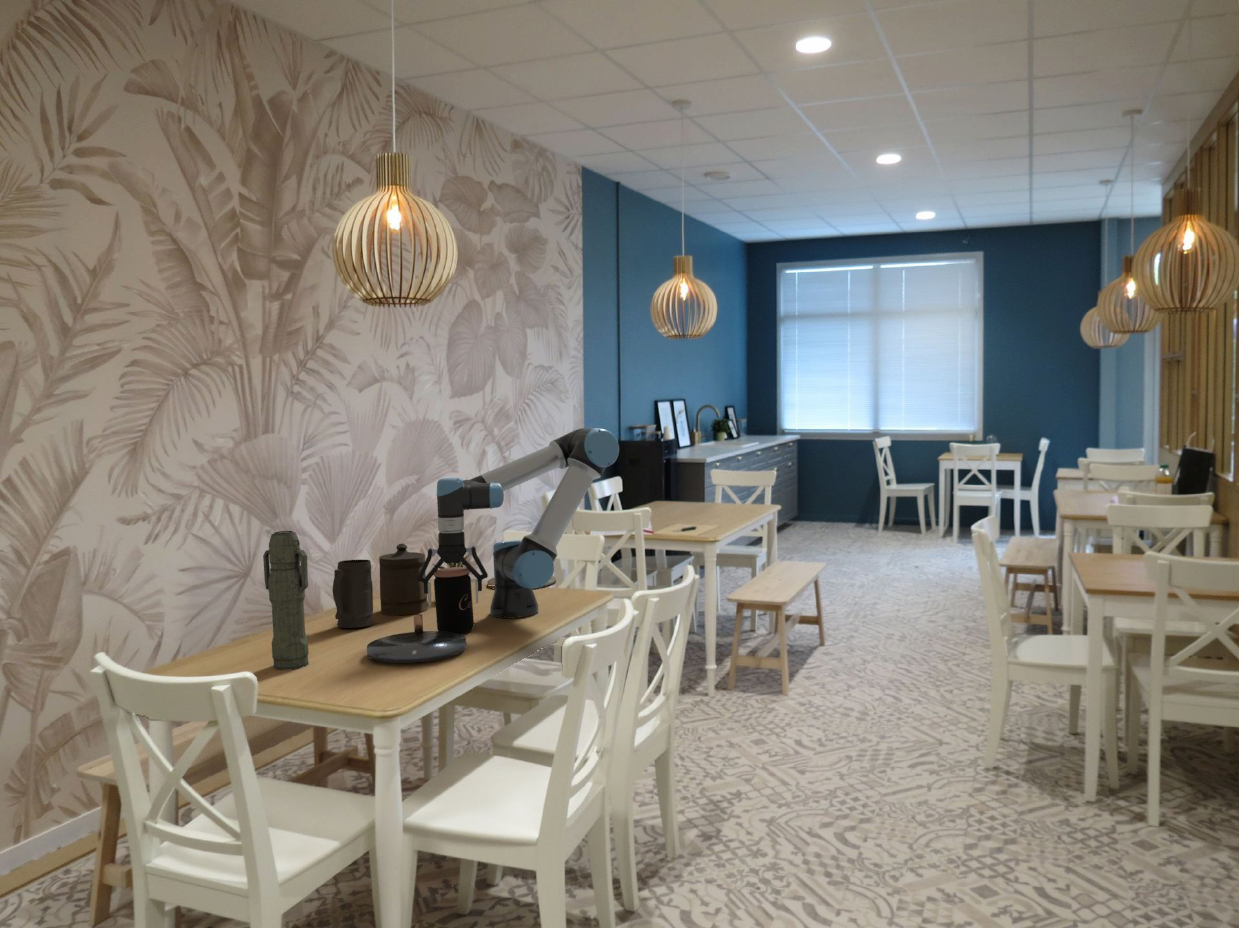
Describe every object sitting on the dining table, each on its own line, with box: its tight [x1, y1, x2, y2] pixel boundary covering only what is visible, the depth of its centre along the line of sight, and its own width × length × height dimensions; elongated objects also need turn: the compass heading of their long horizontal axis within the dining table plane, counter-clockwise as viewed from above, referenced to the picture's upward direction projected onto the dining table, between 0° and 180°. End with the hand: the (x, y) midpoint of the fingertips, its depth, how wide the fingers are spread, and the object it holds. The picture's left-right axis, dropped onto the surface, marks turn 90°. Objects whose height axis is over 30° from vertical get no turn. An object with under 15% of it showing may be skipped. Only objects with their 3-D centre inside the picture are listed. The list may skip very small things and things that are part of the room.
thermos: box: [262, 530, 309, 671], centre depth 255 cm, size 9×12×35 cm
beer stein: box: [332, 559, 374, 629], centre depth 298 cm, size 15×11×20 cm
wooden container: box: [378, 543, 428, 616], centre depth 319 cm, size 15×15×22 cm
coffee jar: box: [433, 566, 475, 635], centre depth 287 cm, size 11×11×18 cm
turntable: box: [366, 613, 467, 664], centre depth 264 cm, size 26×26×7 cm
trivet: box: [486, 575, 557, 590], centre depth 361 cm, size 25×25×2 cm
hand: (453, 603), depth 287 cm, fingers open, 13 cm apart
